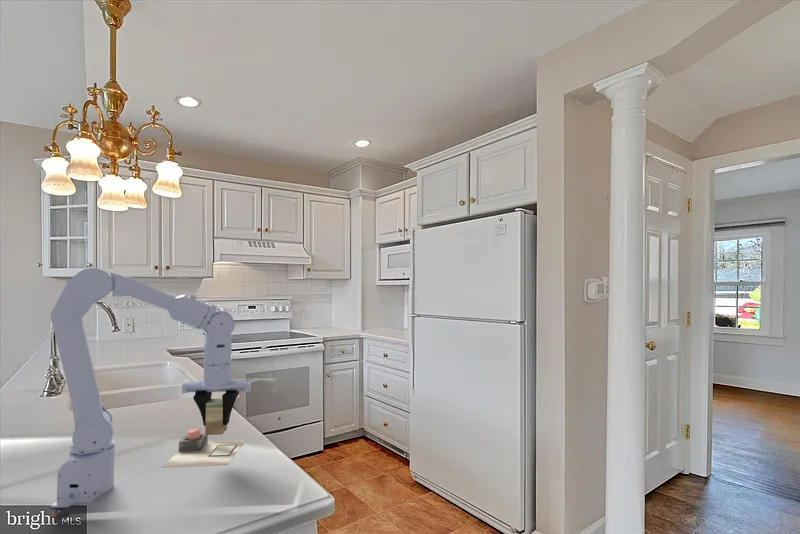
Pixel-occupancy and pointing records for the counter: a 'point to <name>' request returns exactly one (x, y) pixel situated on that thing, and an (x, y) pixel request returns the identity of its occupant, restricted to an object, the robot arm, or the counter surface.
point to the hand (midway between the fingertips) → (216, 424)
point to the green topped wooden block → (214, 417)
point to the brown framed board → (204, 452)
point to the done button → (193, 434)
